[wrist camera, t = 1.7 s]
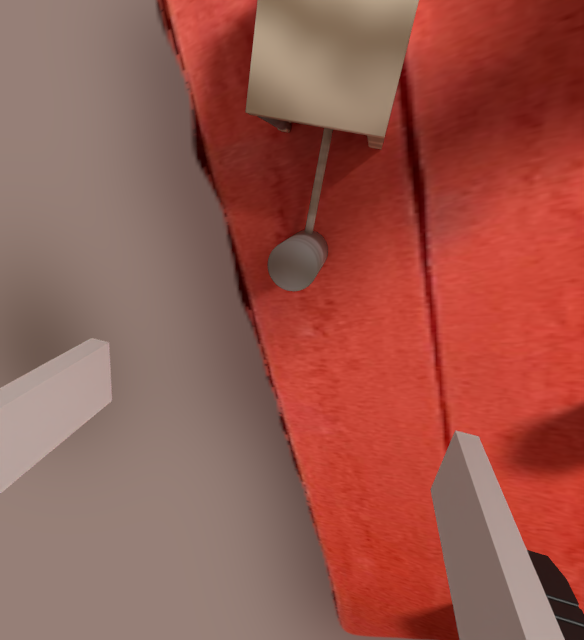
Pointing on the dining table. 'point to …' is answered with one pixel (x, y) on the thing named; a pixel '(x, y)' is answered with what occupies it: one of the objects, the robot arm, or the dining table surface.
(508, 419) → the dining table surface
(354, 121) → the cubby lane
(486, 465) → the robot arm
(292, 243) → the tethered cylinder
